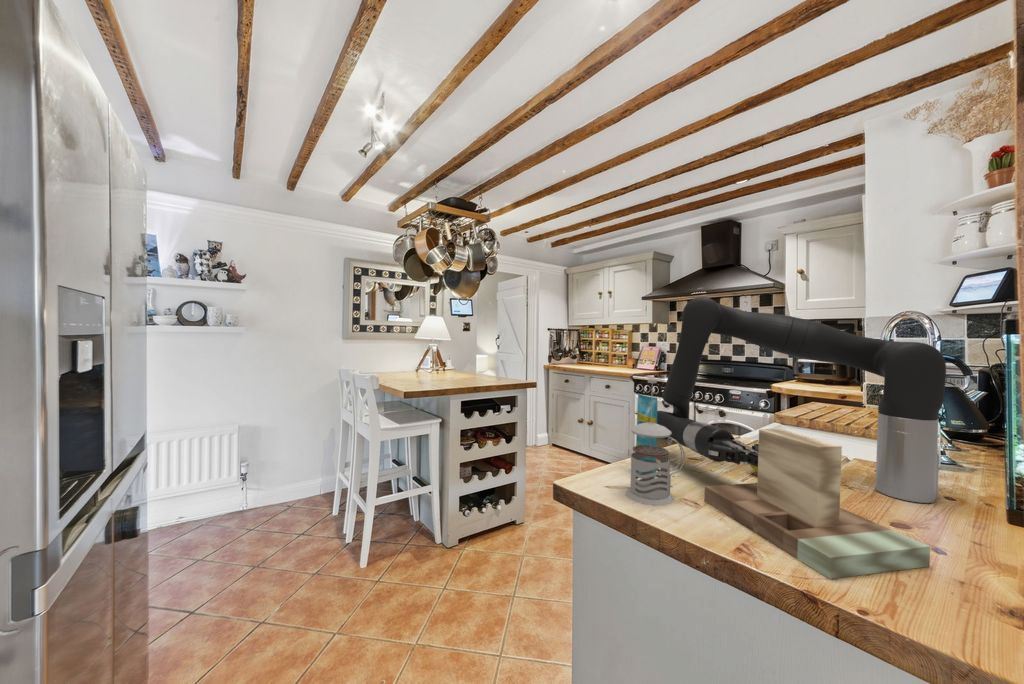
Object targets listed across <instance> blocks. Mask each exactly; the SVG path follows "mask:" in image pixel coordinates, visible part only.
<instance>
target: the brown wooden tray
mask: <svg viewBox="0 0 1024 684" xmlns="http://www.w3.org/2000/svg"><path fill="white" fill-rule="evenodd" d="M757 483H758V482H750V483H737V484H736V483H735V484H734V483H733V484H722V485H720V484H719V485H706V486H704V502H706V503H707V504H709V505H710V506H712V507H714V508H715V509H716V510H718V511H720V512H722V513H723V514H725V515H727V516H728V517H730V518H732V519H733V520H734V521H736V522H738V523H740V524H741V525H743V526H744V527H746V528H747V529H749V530H751V531H752V532H754V533H755V534H756V535H758V536H760V537H762V538H763V539H765V540H766V541H768V542H770V543H771V544H773V545H774V546H776V547H778V548H779V549H781V550H783V551H784V552H786V553H788V554H789V555H790V556H792V557H794V558H796V560H798V561H801V562H802V563H803V564H805V565H807V566H808V567H810V568H812V569H813V570H814V571H816V572H818V573H819V574H821V575H822V576H824V577H826V578H827V579H829V580H831V579H832V580H833V579H839V578H840V579H841V578H848V577H857V576H864V575H873V574H880V573H886V572H887V573H888V572H895V571H903V570H904V571H905V570H912V569H918V568H926V567H927V568H928V567H930V561H931V559H930V558H931V556H930V555H931V546H930V545H928V544H925V543H923V542H920V541H918V540H917V539H915V538H911V537H909V536H907V535H905V534H903V533H900V532H898V531H895V530H893V529H891V528H888V527H886V526H884V525H881V524H879V523H877V522H874V521H873V520H870V519H869V518H865V517H863V516H861V515H858V514H856V513H855V512H854V513H853V512H851V511H850V510H847V509H845V508H842V507H840V512H839V525H831V526H820V527H816V526H814V525H812V524H810V523H808V522H806V521H804V520H802V519H800V518H798V517H796V516H794V515H792V514H790V513H788V512H786V511H784V510H782V509H780V508H778V507H777V506H775V505H773V504H771V503H769V502H767V501H765V500H763V499H761V498H759V497H757Z"/></svg>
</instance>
